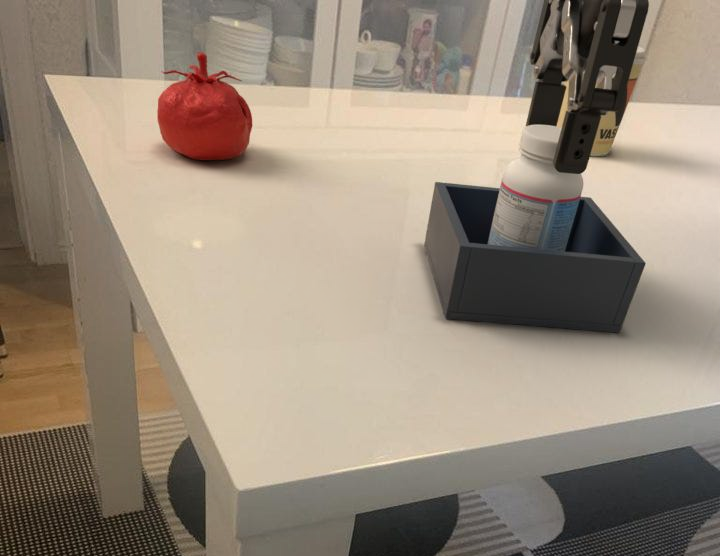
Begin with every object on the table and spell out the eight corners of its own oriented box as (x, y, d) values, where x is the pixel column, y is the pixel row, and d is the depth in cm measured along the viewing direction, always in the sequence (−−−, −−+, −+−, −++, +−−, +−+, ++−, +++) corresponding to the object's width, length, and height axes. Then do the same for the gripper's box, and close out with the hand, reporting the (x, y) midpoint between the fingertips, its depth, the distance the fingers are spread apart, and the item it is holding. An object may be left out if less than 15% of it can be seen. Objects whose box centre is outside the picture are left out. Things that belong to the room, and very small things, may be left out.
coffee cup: (603, 163, 93) (636, 55, 85) (534, 144, 96) (561, 39, 89) (623, 149, 100) (656, 48, 92) (558, 132, 103) (585, 33, 95)
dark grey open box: (571, 259, 67) (590, 197, 63) (620, 333, 56) (646, 263, 53) (423, 246, 65) (435, 181, 61) (445, 318, 55) (460, 245, 51)
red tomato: (179, 171, 73) (174, 66, 67) (143, 141, 79) (136, 42, 73) (269, 165, 77) (272, 66, 72) (228, 136, 84) (228, 43, 78)
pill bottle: (536, 264, 63) (575, 123, 56) (566, 296, 59) (612, 148, 52) (470, 263, 62) (501, 118, 55) (495, 296, 57) (533, 143, 50)
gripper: (738, -123, 39) (633, 191, 49) (644, -126, 49) (574, 131, 60) (601, -143, 38) (523, 180, 48) (536, -142, 49) (484, 122, 59)
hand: (552, 153), depth 54 cm, fingers open, 8 cm apart
